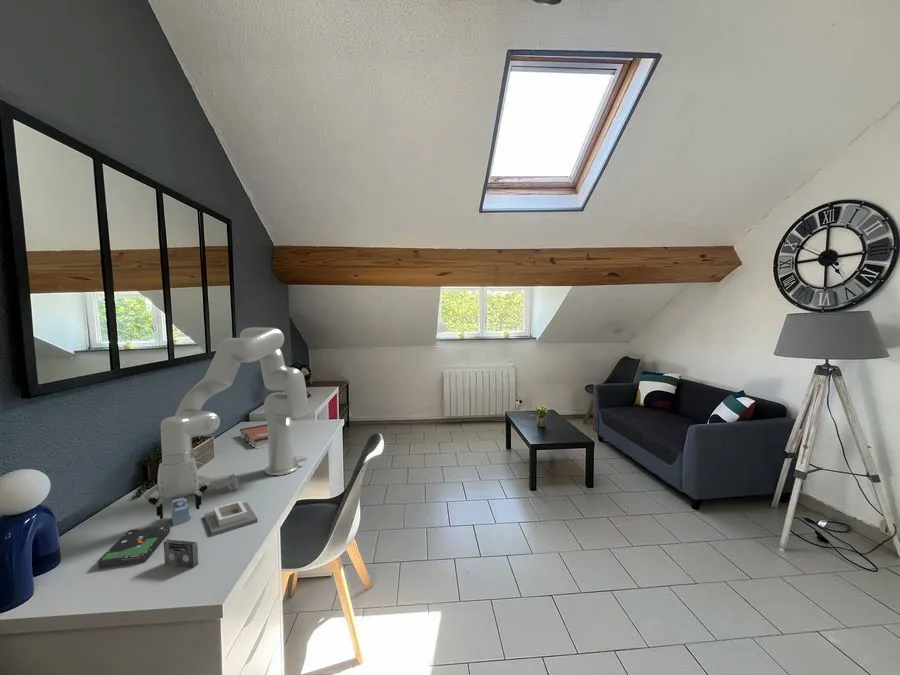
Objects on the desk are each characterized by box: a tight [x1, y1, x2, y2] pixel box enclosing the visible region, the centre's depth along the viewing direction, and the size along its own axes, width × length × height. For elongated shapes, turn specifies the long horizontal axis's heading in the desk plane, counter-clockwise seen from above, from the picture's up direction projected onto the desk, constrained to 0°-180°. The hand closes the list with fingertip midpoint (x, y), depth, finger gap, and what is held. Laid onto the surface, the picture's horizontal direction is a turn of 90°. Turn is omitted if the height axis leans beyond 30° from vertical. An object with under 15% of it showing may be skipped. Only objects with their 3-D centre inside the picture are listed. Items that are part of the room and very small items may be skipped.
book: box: [239, 423, 268, 447], centre depth 201 cm, size 26×18×5 cm
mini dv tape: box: [163, 539, 199, 569], centre depth 99 cm, size 8×2×6 cm, turn 81°
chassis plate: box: [203, 500, 259, 536], centre depth 121 cm, size 12×14×3 cm
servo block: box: [170, 497, 190, 527], centre depth 121 cm, size 4×9×6 cm, turn 39°
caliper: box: [171, 473, 239, 499], centre depth 139 cm, size 20×1×6 cm, turn 106°
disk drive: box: [97, 524, 171, 570], centre depth 106 cm, size 10×3×15 cm
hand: (179, 512), depth 121 cm, fingers open, 8 cm apart
